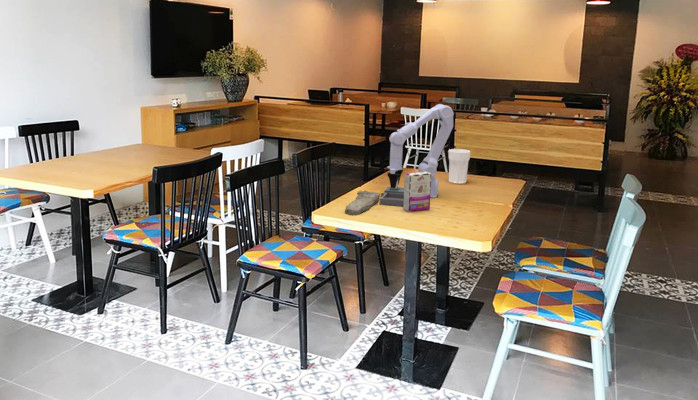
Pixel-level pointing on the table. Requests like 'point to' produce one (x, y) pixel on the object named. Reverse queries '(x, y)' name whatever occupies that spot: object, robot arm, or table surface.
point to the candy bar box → (417, 191)
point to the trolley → (388, 190)
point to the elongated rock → (362, 202)
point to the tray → (392, 199)
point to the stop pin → (396, 186)
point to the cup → (458, 165)
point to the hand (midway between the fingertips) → (394, 186)
